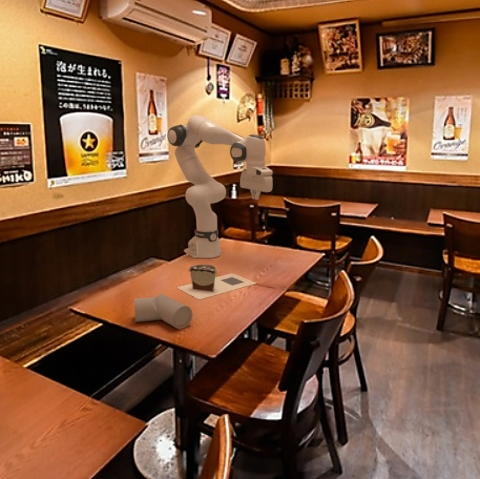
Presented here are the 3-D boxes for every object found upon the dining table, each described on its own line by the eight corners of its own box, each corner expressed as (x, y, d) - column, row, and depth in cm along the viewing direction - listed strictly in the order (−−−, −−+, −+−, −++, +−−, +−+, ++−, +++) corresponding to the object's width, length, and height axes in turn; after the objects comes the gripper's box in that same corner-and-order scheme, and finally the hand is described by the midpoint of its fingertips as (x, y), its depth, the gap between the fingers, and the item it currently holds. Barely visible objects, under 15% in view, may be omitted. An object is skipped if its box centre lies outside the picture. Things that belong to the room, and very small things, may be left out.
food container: (221, 287, 199) (221, 265, 197) (216, 292, 193) (215, 269, 191) (195, 284, 203) (194, 263, 200) (189, 289, 197) (188, 267, 195)
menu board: (176, 287, 199) (176, 287, 199) (232, 273, 218) (232, 273, 218) (199, 299, 186) (199, 299, 185) (256, 283, 204) (256, 283, 204)
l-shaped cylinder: (188, 306, 176) (135, 310, 172) (188, 283, 171) (133, 287, 167) (194, 335, 161) (136, 341, 157) (194, 310, 156) (134, 316, 152)
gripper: (236, 168, 220) (236, 197, 223) (264, 172, 204) (264, 202, 208) (247, 167, 224) (246, 195, 227) (275, 171, 208) (274, 201, 212)
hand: (255, 199), depth 217 cm, fingers closed
